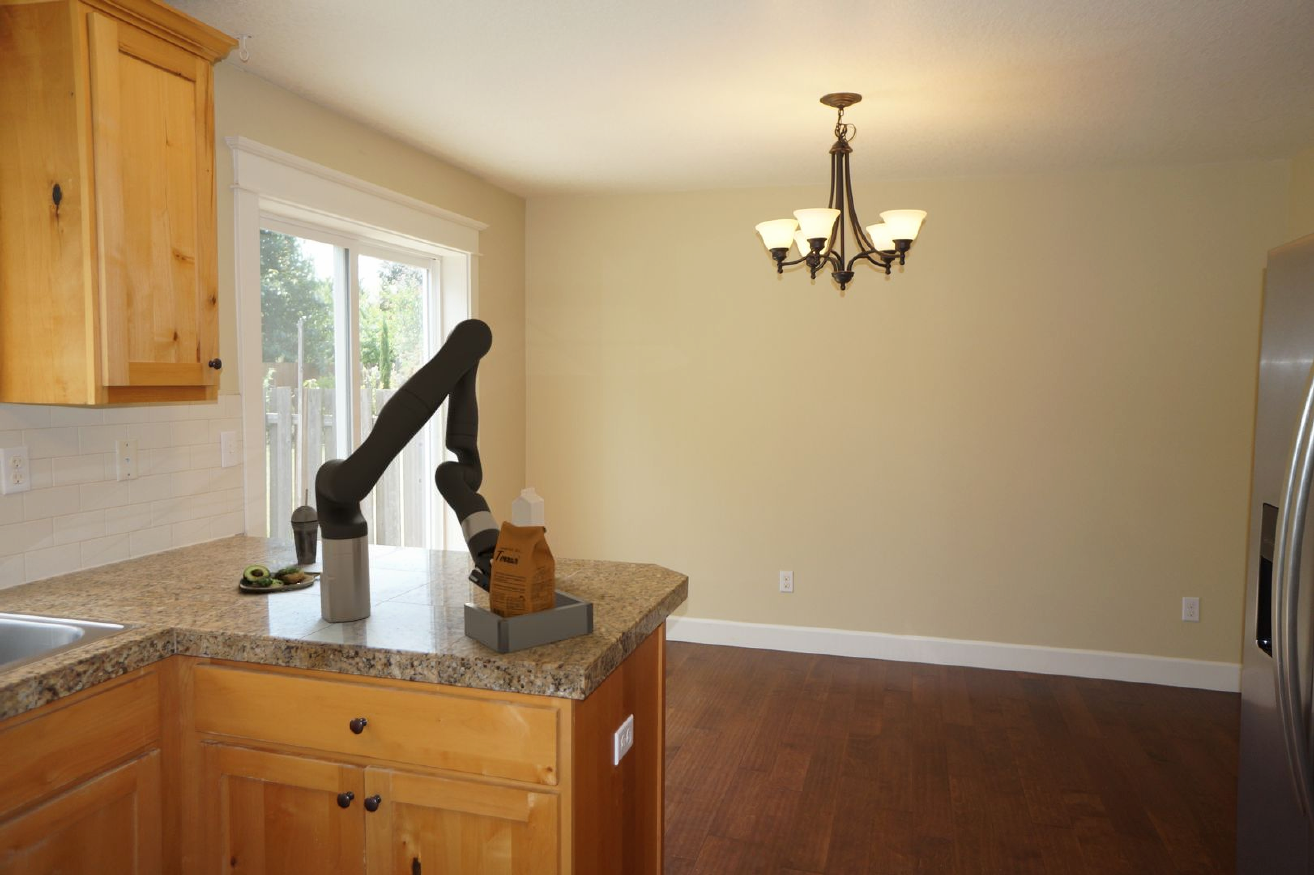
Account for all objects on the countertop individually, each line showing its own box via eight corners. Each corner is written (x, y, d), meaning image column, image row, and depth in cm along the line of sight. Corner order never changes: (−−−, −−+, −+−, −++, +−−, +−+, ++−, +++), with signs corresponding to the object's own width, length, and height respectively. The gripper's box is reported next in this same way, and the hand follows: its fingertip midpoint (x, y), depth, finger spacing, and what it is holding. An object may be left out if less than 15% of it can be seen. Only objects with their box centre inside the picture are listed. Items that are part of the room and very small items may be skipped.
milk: (512, 576, 215) (510, 489, 213) (526, 571, 220) (524, 486, 218) (533, 578, 212) (530, 490, 210) (546, 573, 218) (544, 487, 216)
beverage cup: (286, 564, 230) (283, 490, 228) (304, 559, 237) (301, 487, 235) (308, 566, 227) (305, 491, 226) (326, 560, 234) (324, 488, 233)
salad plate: (322, 573, 222) (321, 555, 221) (328, 588, 206) (328, 569, 205) (239, 581, 213) (238, 563, 213) (239, 598, 197) (238, 578, 197)
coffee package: (519, 622, 175) (517, 516, 173) (563, 634, 167) (561, 522, 165) (481, 635, 167) (478, 523, 165) (525, 647, 159) (523, 530, 158)
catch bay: (501, 654, 156) (500, 621, 155) (464, 633, 168) (464, 603, 167) (593, 632, 168) (593, 602, 167) (552, 615, 180) (552, 587, 180)
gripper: (460, 531, 175) (488, 602, 167) (517, 523, 184) (547, 591, 175) (449, 552, 180) (477, 622, 171) (505, 544, 188) (534, 611, 180)
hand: (512, 606), depth 173 cm, fingers closed
